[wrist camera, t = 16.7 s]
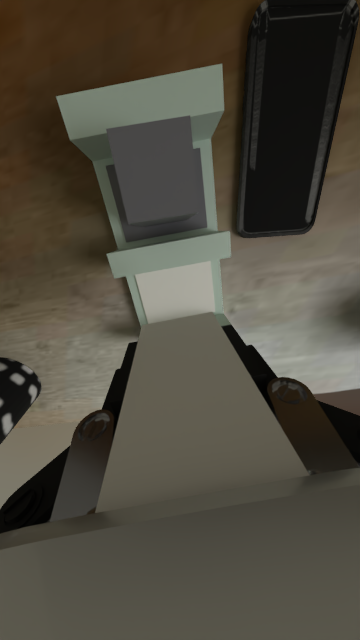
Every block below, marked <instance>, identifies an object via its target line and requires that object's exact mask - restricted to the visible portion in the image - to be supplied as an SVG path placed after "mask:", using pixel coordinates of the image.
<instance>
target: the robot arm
mask: <svg viewBox="0 0 360 640" xmlns="http://www.w3.org/2000/svg"><path fill="white" fill-rule="evenodd" d="M221 327H222V329H223V331H224V332H225V334H226V336H227V337H228V339H229V341H230V342H231V344H232V346H233V347H234V349H235V351H236V352H237V354H238V356H239V357H240V359H241V361H242V362H243V364H244V366H245V367H246V369H247V371H248V373H249V374H250V376H251V378H252V379H253V381H254V383H255V384H256V386H257V388H258V389H259V391H260V393H261V394H262V396H263V398H264V399H265V401H266V403H267V404H268V406H269V408H270V409H271V411H272V413H273V414H274V416H275V418H276V419H277V421H278V423H279V425H280V426H281V428H282V430H283V431H284V433H285V435H286V436H287V438H288V440H289V441H290V443H291V445H292V446H293V448H294V450H295V451H296V453H297V455H298V456H299V458H300V460H301V461H302V463H303V465H304V466H305V468H306V470H307V471H308V473H309V475H308V476H303V477H297V478H291V479H285V480H279V481H273V482H268V483H262V484H256V485H250V486H244V487H239V488H233V489H227V490H222V491H216V492H210V493H205V494H199V495H193V496H188V497H182V498H176V499H171V500H165V501H160V502H154V503H148V504H143V505H138V506H132V507H127V508H121V509H116V510H110V511H105V512H99V513H95V511H96V507H97V503H98V499H99V495H100V491H101V487H102V483H103V479H104V475H105V471H106V467H107V463H108V459H109V455H110V451H111V447H112V443H113V439H114V435H115V431H116V427H117V423H118V419H119V415H120V411H121V407H122V403H123V399H124V395H125V391H126V387H127V383H128V379H129V375H130V371H131V367H132V363H133V359H134V355H135V351H136V347H137V343H138V341H137V342H132V343H129V344H128V347H127V350H126V353H125V357H124V360H123V363H122V366H121V369H117V370H116V371H115V374H114V377H113V379H112V382H111V385H110V388H109V391H108V393H107V396H106V399H105V402H104V405H103V407H102V410H97V411H95V412H92V413H90V414H89V415H88V416H86V417H85V418H84V419H83V420H82V421H81V422H80V423H79V424H78V426H77V427H76V429H75V432H74V434H73V438H72V441H71V445H70V446H69V447H68V448H67V449H65V450H64V451H63V452H62V453H61V454H60V455H58V456H57V457H56V458H55V459H53V460H52V461H51V462H50V463H49V464H47V465H46V466H45V467H44V468H43V469H42V470H40V471H39V472H38V473H37V474H36V475H35V476H33V477H32V478H31V479H30V480H28V481H27V482H26V483H25V484H24V485H22V486H21V487H20V488H19V489H18V490H17V491H15V492H14V493H13V494H12V495H11V496H10V497H9V498H8V500H7V501H6V503H5V504H4V505H3V506H2V508H1V509H0V640H360V416H358V415H356V414H353V413H350V412H348V411H345V410H342V409H339V408H337V407H334V406H331V405H328V404H326V403H323V402H320V401H318V400H316V399H315V397H314V396H313V394H312V392H311V391H310V390H309V389H308V387H307V386H306V385H304V384H303V383H301V382H299V381H297V380H295V379H291V378H286V377H280V378H278V377H277V376H276V375H275V373H274V372H273V371H272V370H271V368H270V367H269V366H268V364H267V363H266V362H265V361H264V359H263V358H262V357H261V355H260V354H259V353H258V352H257V350H256V349H255V348H254V346H252V345H247V346H246V344H245V343H244V342H243V340H242V339H241V337H240V336H239V335H238V333H237V332H236V330H235V329H234V328H233V326H232V325H225V326H221Z"/></svg>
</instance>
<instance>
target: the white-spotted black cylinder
mask: <svg viewBox="0 0 360 640" xmlns="http://www.w3.org/2000/svg"><path fill="white" fill-rule="evenodd" d="M40 392H41V383H40V380H39V378H38V377H37V375H36V374H35V373H34V372H33V371H32V370H31V369H30V368H28V367H27V366H25V365H24V364H22V363H19V362H17V361H14V360H11V359H7V358H0V444H1V443H2V441H3V440H4V439H5V438H6V437H7V435H8V434H9V433H10V431H11V430H12V429H13V428H14V426H15V425H16V424H17V423H18V421H19V420H20V419H21V417H22V416H23V415H24V414H25V412H26V411H27V410H28V409H29V407H30V406H31V405H32V403H33V402H34V401H35V400H36V398H37V397H38V396H39V394H40Z"/></svg>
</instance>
